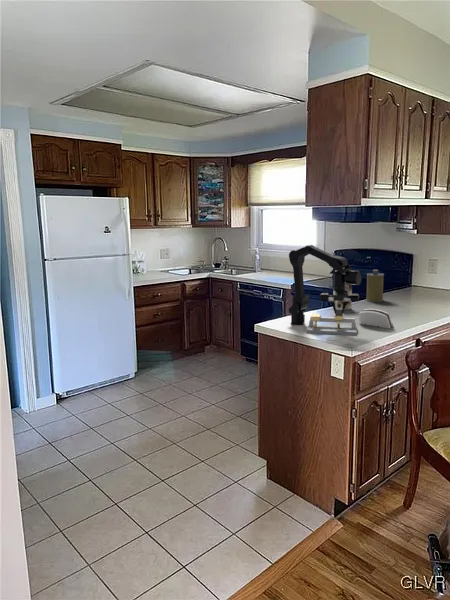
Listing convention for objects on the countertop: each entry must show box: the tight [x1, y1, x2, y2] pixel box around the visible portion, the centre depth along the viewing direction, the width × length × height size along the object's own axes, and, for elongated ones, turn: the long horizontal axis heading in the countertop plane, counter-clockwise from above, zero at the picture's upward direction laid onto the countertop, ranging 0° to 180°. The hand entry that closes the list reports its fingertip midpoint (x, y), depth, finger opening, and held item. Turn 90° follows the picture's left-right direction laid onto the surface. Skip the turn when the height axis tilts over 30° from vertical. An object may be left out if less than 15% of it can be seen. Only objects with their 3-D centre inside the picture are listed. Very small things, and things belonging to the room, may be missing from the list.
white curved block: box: [358, 308, 394, 329], centre depth 233 cm, size 17×5×10 cm, turn 47°
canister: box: [365, 269, 385, 303], centre depth 292 cm, size 11×10×20 cm
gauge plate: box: [305, 313, 358, 336], centre depth 226 cm, size 24×12×8 cm, turn 73°
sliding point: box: [333, 308, 344, 328], centre depth 226 cm, size 4×6×9 cm, turn 163°
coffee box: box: [335, 283, 353, 310], centre depth 273 cm, size 9×6×16 cm
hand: (339, 314), depth 226 cm, fingers closed on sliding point, 3 cm apart
